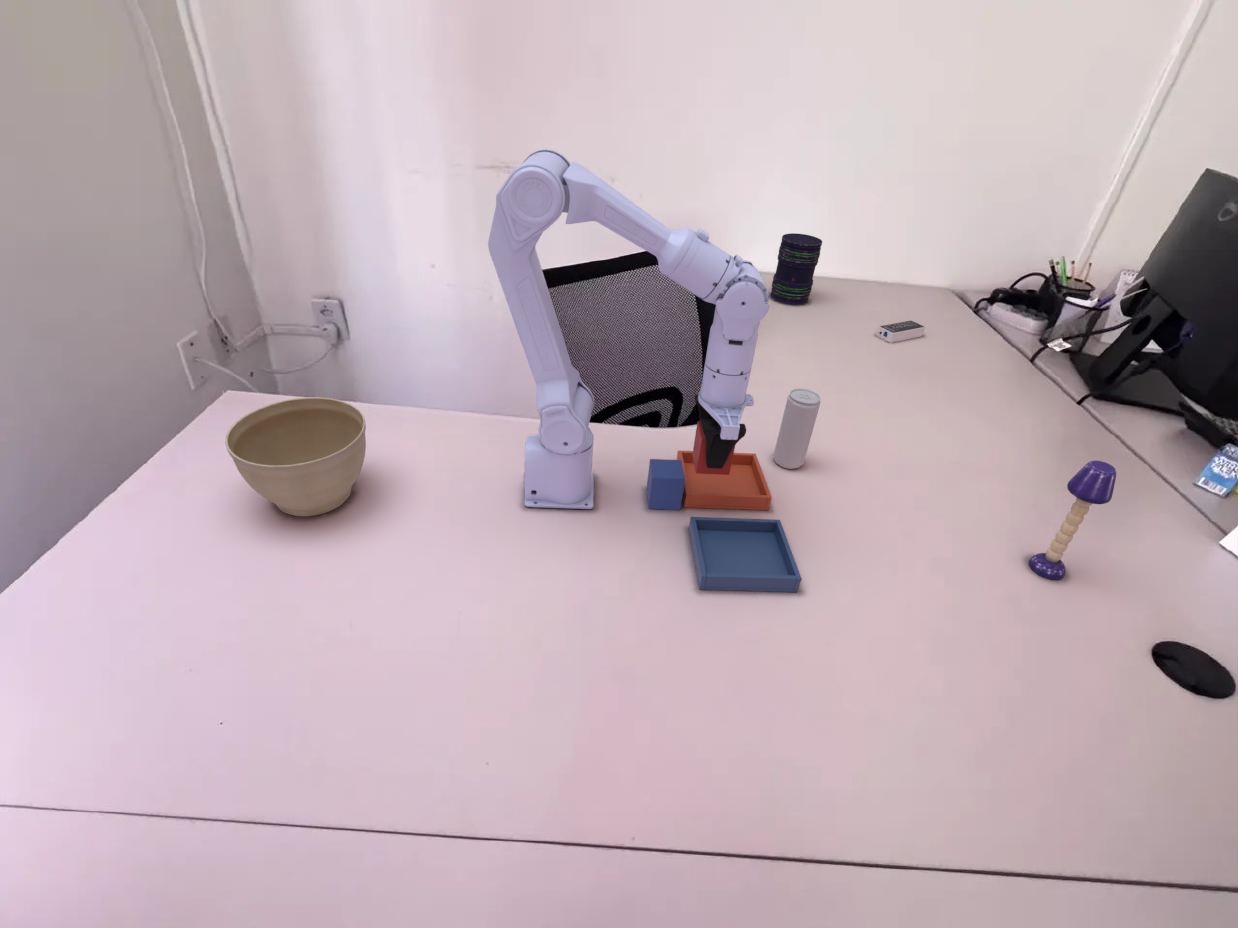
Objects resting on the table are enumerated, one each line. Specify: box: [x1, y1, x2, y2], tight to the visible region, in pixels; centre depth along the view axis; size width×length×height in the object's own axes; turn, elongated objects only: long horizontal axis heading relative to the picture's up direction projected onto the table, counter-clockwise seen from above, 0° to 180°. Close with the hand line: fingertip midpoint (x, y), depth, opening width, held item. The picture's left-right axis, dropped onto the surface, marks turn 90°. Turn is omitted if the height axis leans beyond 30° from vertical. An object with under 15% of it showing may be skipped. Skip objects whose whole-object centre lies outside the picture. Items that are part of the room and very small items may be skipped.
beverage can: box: [772, 388, 822, 470], centre depth 100 cm, size 5×5×12 cm
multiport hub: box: [875, 320, 926, 344], centre depth 150 cm, size 4×11×2 cm, turn 119°
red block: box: [692, 420, 736, 475], centre depth 87 cm, size 4×4×6 cm
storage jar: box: [769, 232, 823, 306], centre depth 162 cm, size 10×10×15 cm
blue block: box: [645, 458, 685, 511], centre depth 92 cm, size 4×4×6 cm
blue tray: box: [688, 516, 802, 593], centre depth 83 cm, size 12×11×2 cm
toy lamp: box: [1028, 459, 1117, 581], centre depth 82 cm, size 5×5×17 cm
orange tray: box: [676, 449, 773, 511], centre depth 97 cm, size 12×11×2 cm
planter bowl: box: [224, 396, 367, 517], centre depth 85 cm, size 16×16×11 cm
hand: (711, 456), depth 88 cm, fingers closed on red block, 4 cm apart
